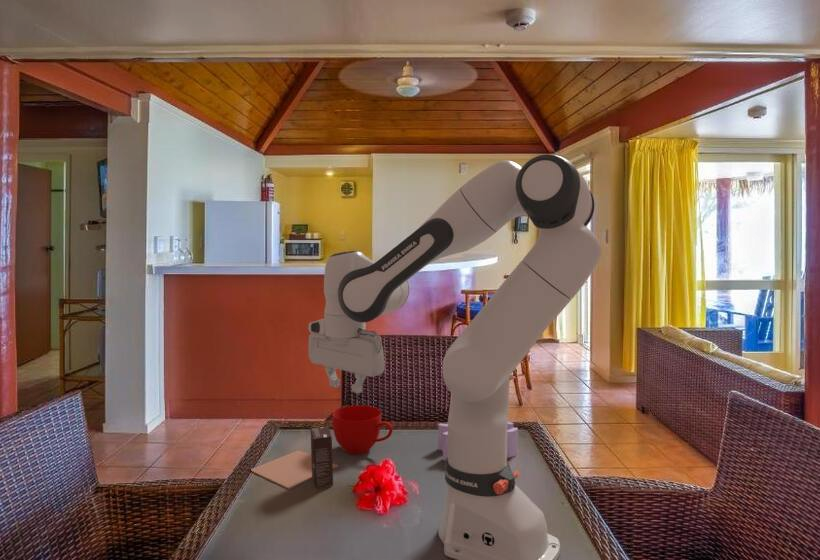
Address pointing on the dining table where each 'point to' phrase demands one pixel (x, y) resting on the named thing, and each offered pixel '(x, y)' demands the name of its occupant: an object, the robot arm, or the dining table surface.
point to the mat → (288, 469)
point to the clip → (511, 440)
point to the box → (321, 457)
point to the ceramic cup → (358, 428)
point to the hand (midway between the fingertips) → (345, 389)
